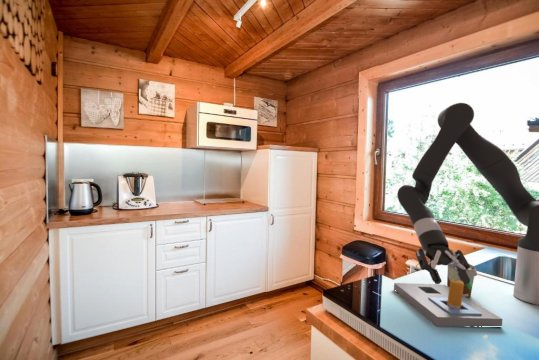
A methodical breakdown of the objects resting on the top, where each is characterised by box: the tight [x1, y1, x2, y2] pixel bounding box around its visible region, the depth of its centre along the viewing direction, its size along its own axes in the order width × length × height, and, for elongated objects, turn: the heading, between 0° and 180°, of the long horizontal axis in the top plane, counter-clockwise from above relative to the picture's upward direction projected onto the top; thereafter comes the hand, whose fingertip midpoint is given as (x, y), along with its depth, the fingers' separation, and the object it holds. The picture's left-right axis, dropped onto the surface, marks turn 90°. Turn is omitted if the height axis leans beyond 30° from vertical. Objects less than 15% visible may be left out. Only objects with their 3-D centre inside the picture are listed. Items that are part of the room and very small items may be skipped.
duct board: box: [393, 282, 503, 328], centre depth 83 cm, size 18×22×3 cm
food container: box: [446, 261, 478, 299], centre depth 94 cm, size 12×6×10 cm, turn 168°
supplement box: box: [447, 278, 464, 309], centre depth 79 cm, size 3×3×10 cm
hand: (452, 283), depth 79 cm, fingers open, 8 cm apart
